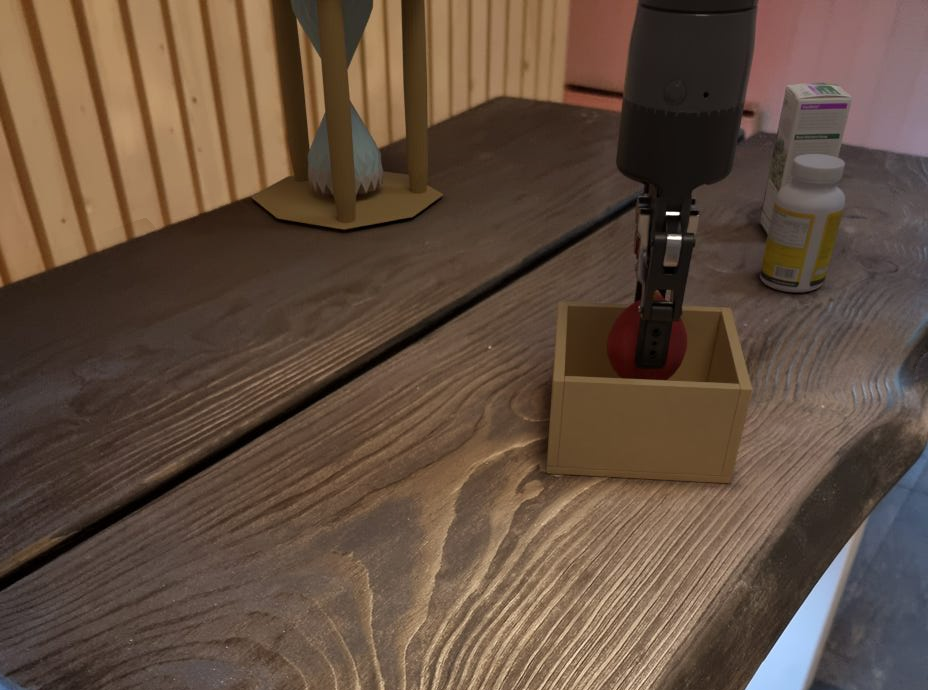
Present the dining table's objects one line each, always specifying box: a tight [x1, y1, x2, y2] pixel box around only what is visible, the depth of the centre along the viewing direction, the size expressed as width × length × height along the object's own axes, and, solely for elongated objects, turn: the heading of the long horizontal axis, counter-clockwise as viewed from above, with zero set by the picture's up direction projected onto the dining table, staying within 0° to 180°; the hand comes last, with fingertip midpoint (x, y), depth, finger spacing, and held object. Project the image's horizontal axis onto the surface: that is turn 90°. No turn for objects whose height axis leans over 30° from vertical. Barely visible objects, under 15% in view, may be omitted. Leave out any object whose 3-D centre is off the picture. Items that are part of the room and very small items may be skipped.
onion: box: [607, 290, 688, 380], centre depth 69 cm, size 6×6×8 cm
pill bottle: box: [759, 154, 846, 293], centre depth 92 cm, size 6×6×12 cm
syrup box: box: [758, 82, 853, 237], centre depth 101 cm, size 6×6×14 cm
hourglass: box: [250, 0, 445, 230], centre depth 108 cm, size 24×22×25 cm
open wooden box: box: [545, 301, 753, 484], centre depth 71 cm, size 14×14×8 cm
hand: (647, 345), depth 69 cm, fingers closed on onion, 6 cm apart
